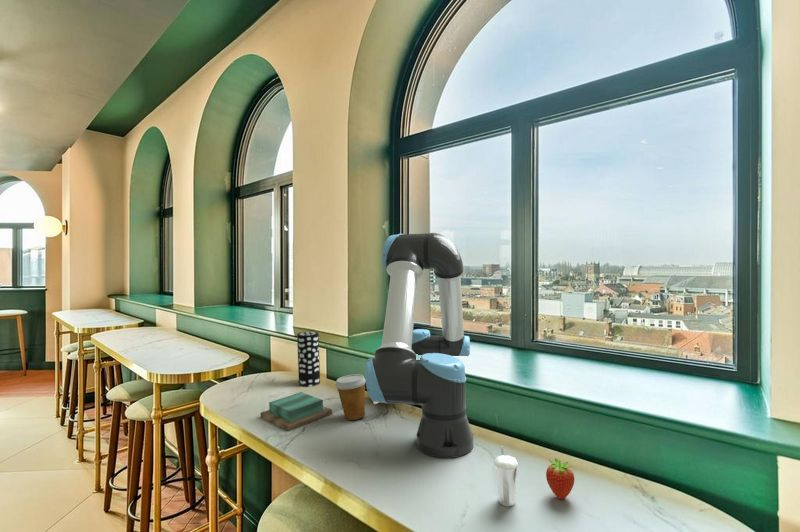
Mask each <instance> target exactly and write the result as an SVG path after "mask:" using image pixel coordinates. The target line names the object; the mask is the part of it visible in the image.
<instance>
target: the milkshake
mask: <svg viewBox="0 0 800 532" xmlns="http://www.w3.org/2000/svg"><path fill="white" fill-rule="evenodd" d="M494 467H495V476H496V489H497V499H498V502H499V504H500V505H502V506H504V507H512V506H514V505H515V503H516V494H517V482H518V481H517V478H518V467H519V463H518V461H517V459H516V457H514V456H511V455H504V447H503V446H502V445H500V455H498V456H497V457H496V458H495V459H494Z"/></svg>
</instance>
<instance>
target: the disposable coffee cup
mask: <svg viewBox="0 0 800 532" xmlns="http://www.w3.org/2000/svg"><path fill="white" fill-rule="evenodd" d="M365 381H366V379H365V375H364V374H360V373H356V374H355V373H354V374H348V375H343V376H341V377H338V378H337V379H336V381H335V387H336V389H337V392H338V396H339V399H340V403H341V407H342V411H343V414H344V418H345V420H348V421H355V420H360V419H362V418H363V417H365V415H366V388H365Z"/></svg>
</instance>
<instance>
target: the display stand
mask: <svg viewBox="0 0 800 532" xmlns="http://www.w3.org/2000/svg"><path fill="white" fill-rule="evenodd" d="M268 404H269V405H268V406H269V407H268V409H267V410H264V411H261V412H260V418H261V419H263V420H265V421H267V422H269V423H271V424H273V425H275V426H277V427H279V428H281V429H283V430H285V431H288V432H290V431H294V430H295V429H298V428H300V427H303V426H306V425H308V424H311V423H313V422H316V421H318V420H320V419H323V418H326V417H329V416H330V415H333V409H332V408H329V407H327V406H324V399H321V398H319V397H316V396H313V395H310V394H307V393H305V392H302V391H301V392H297V393H295V394H291V395H288V396H285V397H281V398H278V399H274V400H272V401H270V402H268Z"/></svg>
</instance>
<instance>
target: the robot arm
mask: <svg viewBox="0 0 800 532" xmlns="http://www.w3.org/2000/svg"><path fill="white" fill-rule="evenodd" d="M382 266H383V267H384V269H385V270H386V272H387V274H388V275H389V276H390V278H389V285H388V293H387V299H386V300H387V302H386V307H385V308H386V309H385V316H384V324H383V332H382V340H381V345H380V346H379V347H377V348H376V349H375V352H374V357H370V358H368V359H367V360H366V363H365V374H364V378H365V379H366V381H365V389H366V390H367V394H368V397H369V398H370V399H371V400H372V404H373V405H377V404H379V403H384V404H386V405H388V404H398V405H399V404H401V405H414V406H415V405H417V406H421V412H422V413H421V418H420V422H419V425H418V428H417V431H416V435H415V436H416V438H415V439H416V440H415V443H416V444H415V445H416V447H417V449H419V451H421V452H422V453H424V454H426V455H428V456H430V457H431V456H432V457H436V458H443V459H444V458H446V459H448V458H457V457H462V456H465V455H466V454H468V453H470V452H472V450H473V449H474V445H475V443H474V434H473V432H472V429H471V426H470V422H469V419H468V416H467V397H466V396H467V395H466V393H467V392H466V382H467V377H466V368H465V367H466V366H465V364H464V362H463V360H461V359H459V357H453V356H467V357H469V356H470V354H471V338H470V336H469V335H465V332H464V329H465V328H464V316H463V300H462V298H463V295H462V284H461V282H462V281H461V279H462V278H461V276H462V275H464V263H463V259H462V256H461V254H460V252H459V250H458V248H457V247H456V246H455V244H454V243H453V242H452V241H451V239H449V238H448V237H446V236H445V235H443V234H440V233H436V232H429V233H423V232H422V233H406V234H404V233H398V234H392V235H390V236H388V237H387V238H386V240H385V242H384V244H383V249H382ZM424 270H433V274H434V276H435V277H436V278H437V284H438V285H437V286H438V295H439V297H438V298H439V305H440V306H439V308H440V316H441V317H440V318H441V329H442V335H438V334H437V335H435V334H434V335H433V334H431V331H430V330H428V329H425V328H417V329H414V324H415V313H416V301H417V289H418V279H420V278H421V277H423V273H424ZM416 354H418V355H422V356H421V358H420V360H416Z"/></svg>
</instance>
